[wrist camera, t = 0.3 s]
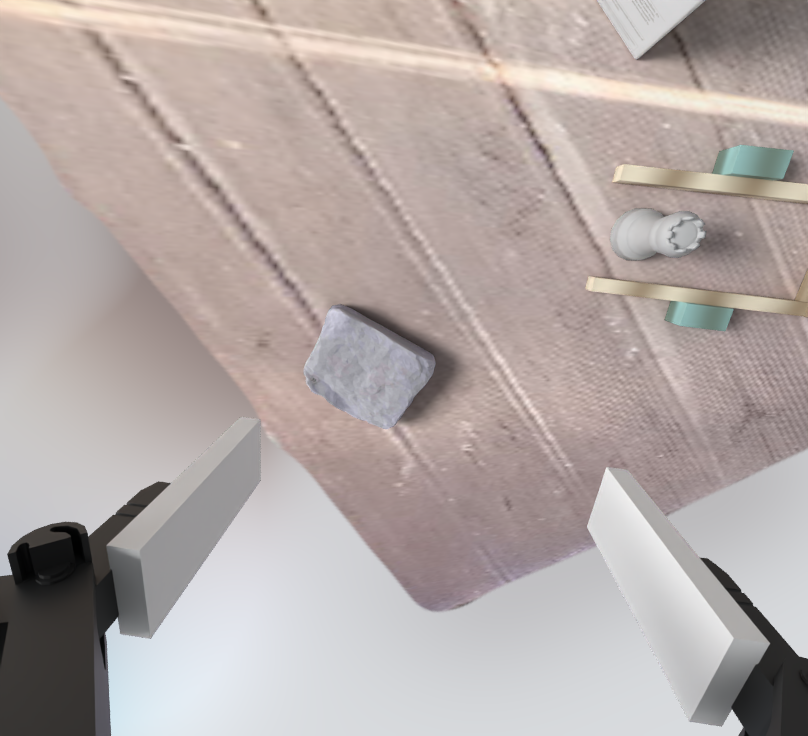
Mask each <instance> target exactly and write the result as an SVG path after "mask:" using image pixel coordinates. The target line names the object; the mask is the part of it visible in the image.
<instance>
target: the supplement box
mask: <svg viewBox="0 0 808 736" xmlns="http://www.w3.org/2000/svg"><path fill="white" fill-rule="evenodd" d="M597 1H598V3H599V4H600V6H601V7H602V9H603V11H604V12H605V14H606V15H607V17H608V18H609V20H610V21H611V23H612V24H613V26H614V28H615V29H616V31H617V32H618V34H619V35H620V37H621V38H622V40H623V42H624V43H625V45H626V46H627V48H628V49H629V51H630V52H631V54H632V55H633V57H634V58H635V59H638V58H640V57H641V56H642V55H643V54H644V53H645V52H647V51H648V50H649V49H650V48H651V47H652V46H654V45H655V44H656V43H657V42H658V41H659V40H661V39H662V38H663V37H664V36H665V35H666V34H667V33H669V32H670V31H671V30H672V29H673V28H674V27H676V26H677V25H678V24H679V23H680V22H681V21H683V20H684V19H685V18H686V17H687V16H688V15H689V14H691V13H692V12H693V11H694V10H695V9H696V8H698V7H699V6H700V5H701V4H702V3H703V2H704V1H706V0H597Z"/></svg>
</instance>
